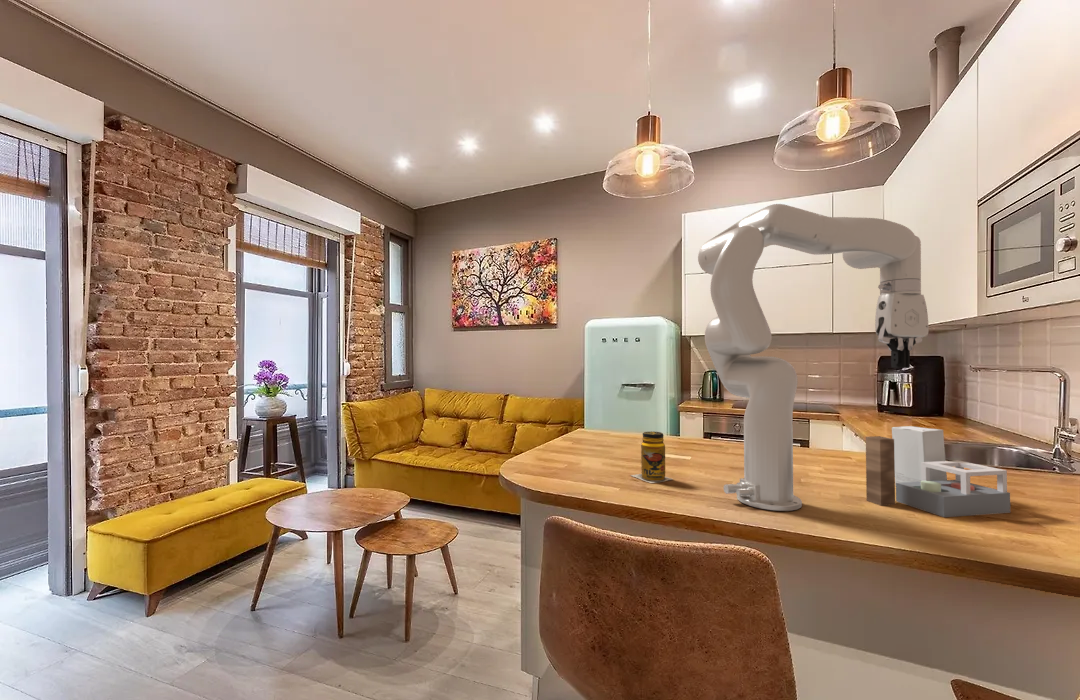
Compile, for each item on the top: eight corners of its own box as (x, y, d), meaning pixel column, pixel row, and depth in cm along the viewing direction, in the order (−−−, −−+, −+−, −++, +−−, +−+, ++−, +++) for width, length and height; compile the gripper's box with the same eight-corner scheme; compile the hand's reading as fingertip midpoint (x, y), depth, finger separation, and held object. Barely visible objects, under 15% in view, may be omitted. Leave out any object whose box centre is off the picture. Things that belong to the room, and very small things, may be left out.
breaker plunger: (965, 503, 93) (964, 487, 93) (946, 498, 97) (946, 483, 97) (979, 502, 94) (979, 486, 94) (960, 497, 97) (960, 482, 97)
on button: (932, 503, 92) (932, 485, 92) (916, 498, 95) (916, 480, 95) (945, 502, 93) (945, 484, 93) (929, 497, 96) (929, 480, 96)
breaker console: (944, 517, 88) (943, 474, 89) (896, 501, 98) (895, 462, 98) (1010, 512, 91) (1009, 471, 91) (957, 497, 101) (956, 460, 101)
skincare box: (948, 495, 103) (947, 430, 103) (925, 496, 102) (924, 430, 102) (913, 485, 111) (912, 424, 111) (891, 486, 110) (890, 425, 110)
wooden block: (881, 505, 96) (880, 439, 96) (866, 500, 99) (865, 436, 99) (895, 504, 96) (894, 439, 96) (880, 499, 100) (879, 436, 100)
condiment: (651, 483, 112) (651, 435, 112) (630, 476, 120) (629, 430, 120) (673, 480, 116) (673, 433, 116) (651, 472, 123) (650, 428, 123)
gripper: (886, 285, 101) (887, 367, 100) (943, 288, 103) (944, 368, 102) (858, 290, 108) (858, 367, 108) (912, 292, 110) (912, 367, 110)
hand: (900, 367), depth 105 cm, fingers closed
